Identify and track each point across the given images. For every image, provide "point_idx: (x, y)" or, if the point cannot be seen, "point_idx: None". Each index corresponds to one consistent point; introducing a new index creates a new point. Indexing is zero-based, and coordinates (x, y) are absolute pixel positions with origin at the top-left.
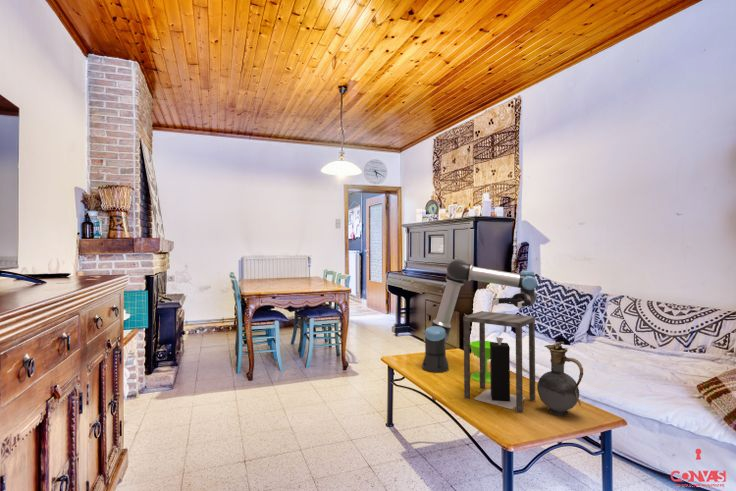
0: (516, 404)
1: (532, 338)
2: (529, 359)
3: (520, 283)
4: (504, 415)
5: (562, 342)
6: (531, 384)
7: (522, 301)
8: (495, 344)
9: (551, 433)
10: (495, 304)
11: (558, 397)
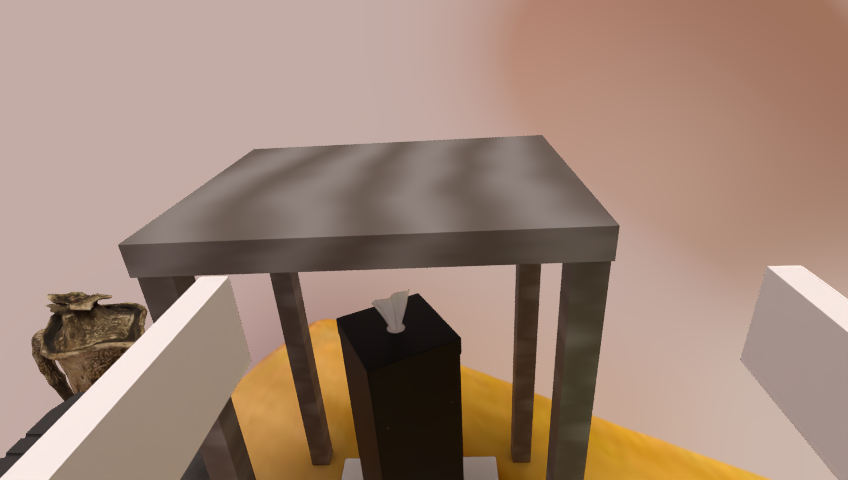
0: (328, 431)
1: None
2: (248, 462)
3: None
4: None
5: (53, 295)
6: None
7: (47, 454)
8: (414, 318)
9: (234, 390)
10: (811, 434)
11: None
